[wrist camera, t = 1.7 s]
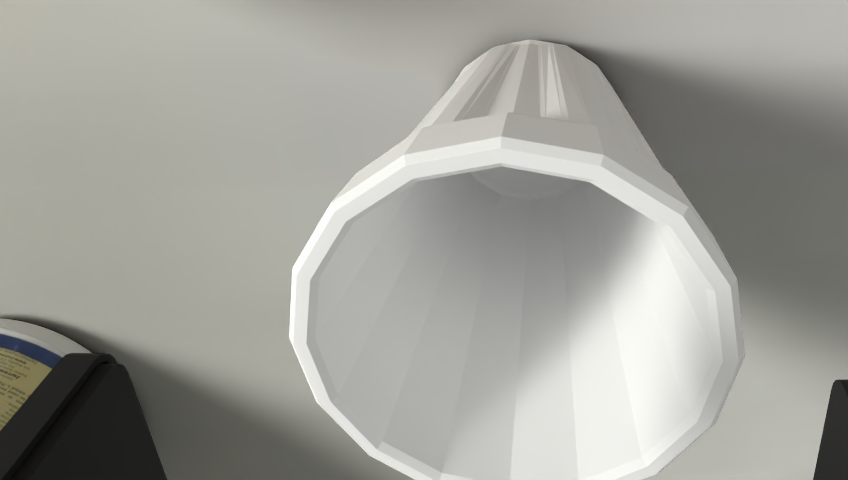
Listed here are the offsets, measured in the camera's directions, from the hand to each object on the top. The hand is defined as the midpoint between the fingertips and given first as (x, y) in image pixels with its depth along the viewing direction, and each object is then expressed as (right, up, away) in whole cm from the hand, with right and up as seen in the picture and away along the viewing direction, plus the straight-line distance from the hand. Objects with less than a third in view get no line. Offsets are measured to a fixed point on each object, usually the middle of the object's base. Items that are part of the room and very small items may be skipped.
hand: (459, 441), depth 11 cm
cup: (+3, +7, +18) cm, 20 cm away
